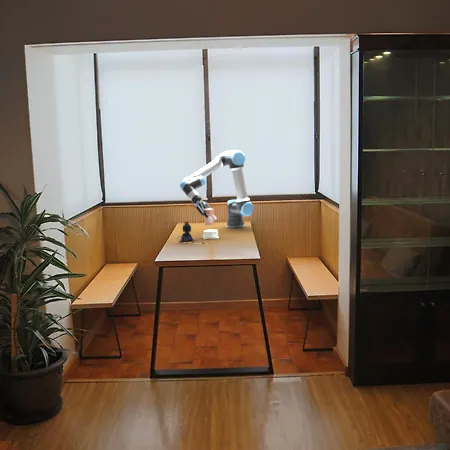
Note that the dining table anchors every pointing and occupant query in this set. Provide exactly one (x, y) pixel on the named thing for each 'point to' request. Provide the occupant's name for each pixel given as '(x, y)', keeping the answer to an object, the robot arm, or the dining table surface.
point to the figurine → (186, 232)
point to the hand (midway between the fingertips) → (213, 220)
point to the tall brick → (211, 214)
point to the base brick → (210, 233)
